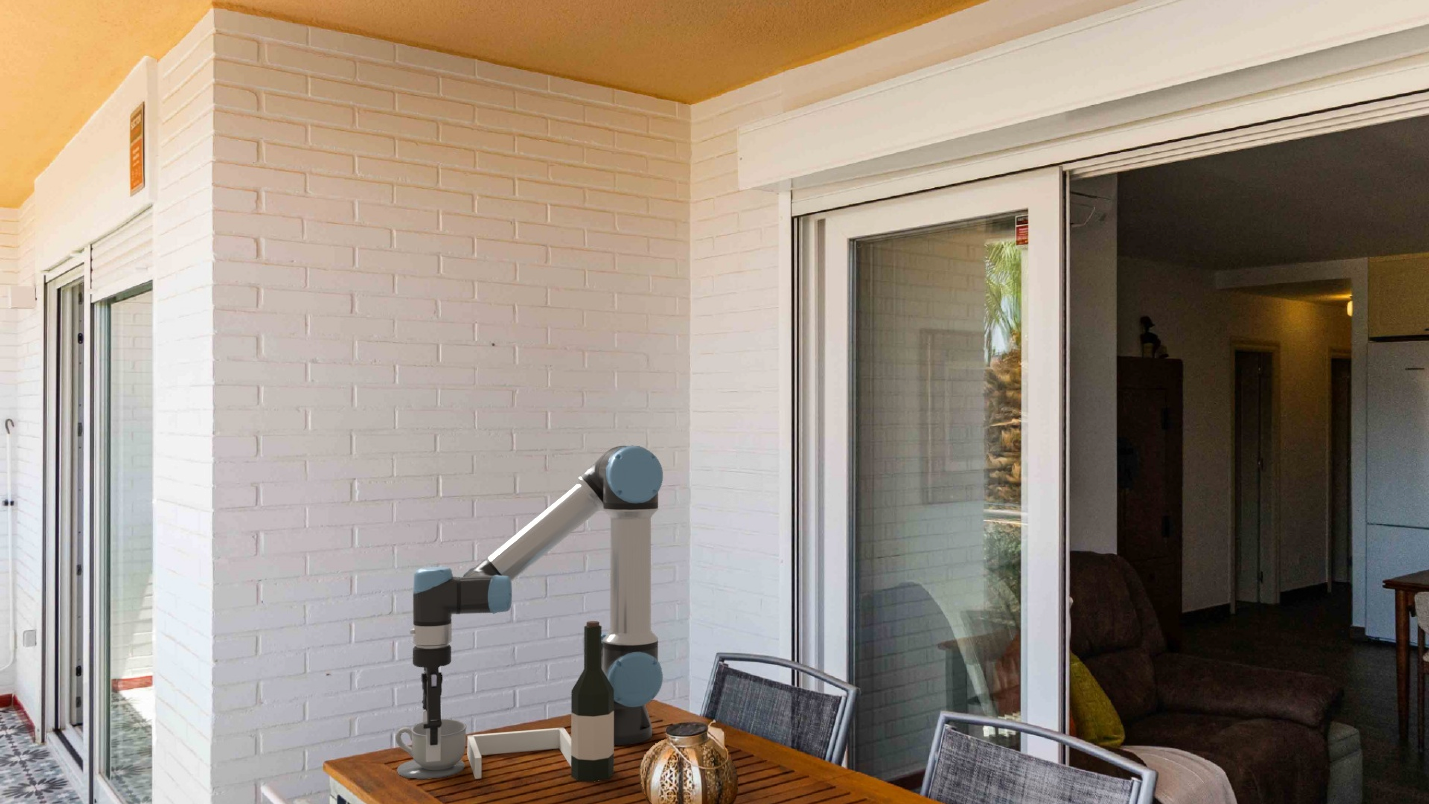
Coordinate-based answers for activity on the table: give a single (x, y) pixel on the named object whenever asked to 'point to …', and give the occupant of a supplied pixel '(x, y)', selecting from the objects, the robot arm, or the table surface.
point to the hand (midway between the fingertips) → (431, 751)
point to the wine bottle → (592, 714)
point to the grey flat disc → (416, 771)
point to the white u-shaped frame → (516, 744)
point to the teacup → (450, 744)
